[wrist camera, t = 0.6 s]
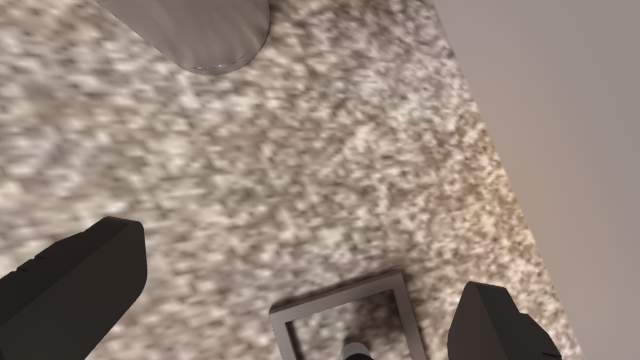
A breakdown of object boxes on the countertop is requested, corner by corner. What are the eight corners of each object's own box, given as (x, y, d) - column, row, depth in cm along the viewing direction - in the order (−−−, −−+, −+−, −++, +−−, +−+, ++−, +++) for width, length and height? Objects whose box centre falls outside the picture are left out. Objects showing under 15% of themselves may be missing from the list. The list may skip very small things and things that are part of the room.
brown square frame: (269, 309, 29) (268, 314, 28) (397, 269, 29) (401, 272, 28) (308, 432, 29) (308, 442, 28) (433, 391, 30) (437, 399, 29)
